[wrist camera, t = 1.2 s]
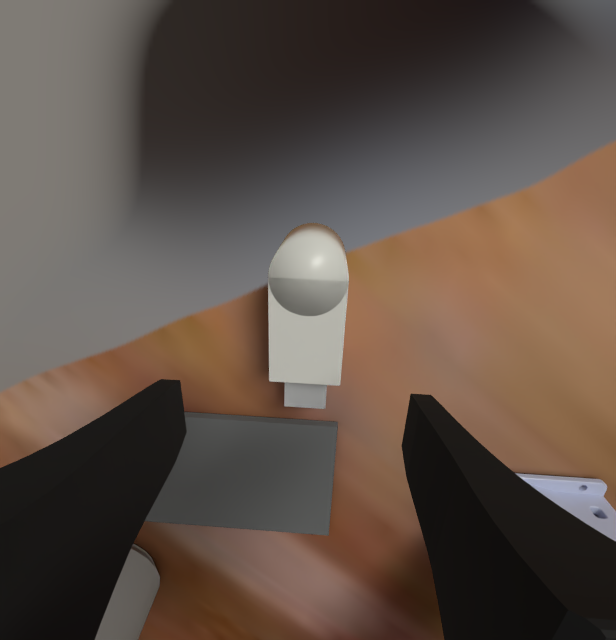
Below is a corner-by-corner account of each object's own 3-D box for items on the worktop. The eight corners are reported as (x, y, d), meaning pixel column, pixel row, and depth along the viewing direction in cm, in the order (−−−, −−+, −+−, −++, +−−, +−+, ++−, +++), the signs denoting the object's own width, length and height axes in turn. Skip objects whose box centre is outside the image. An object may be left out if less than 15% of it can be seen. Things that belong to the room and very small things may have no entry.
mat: (337, 421, 23) (337, 427, 23) (328, 529, 27) (328, 535, 27) (122, 407, 24) (118, 412, 23) (144, 514, 28) (141, 520, 27)
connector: (280, 221, 18) (267, 236, 15) (347, 224, 18) (352, 240, 15) (279, 378, 22) (269, 421, 18) (335, 381, 22) (336, 425, 18)
